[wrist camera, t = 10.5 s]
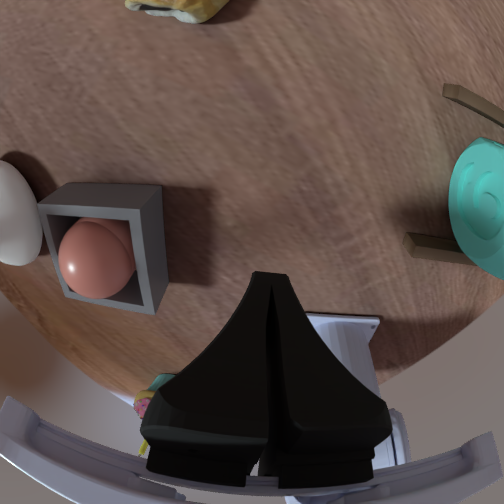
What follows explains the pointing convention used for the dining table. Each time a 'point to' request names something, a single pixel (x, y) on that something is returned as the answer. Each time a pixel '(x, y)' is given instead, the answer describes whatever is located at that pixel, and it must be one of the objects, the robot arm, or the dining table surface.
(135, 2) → the pastry
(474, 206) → the decorative dice
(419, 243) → the frame
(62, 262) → the pop dome
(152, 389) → the cupcake
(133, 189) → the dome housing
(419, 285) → the dining table surface
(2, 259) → the flower in vase
